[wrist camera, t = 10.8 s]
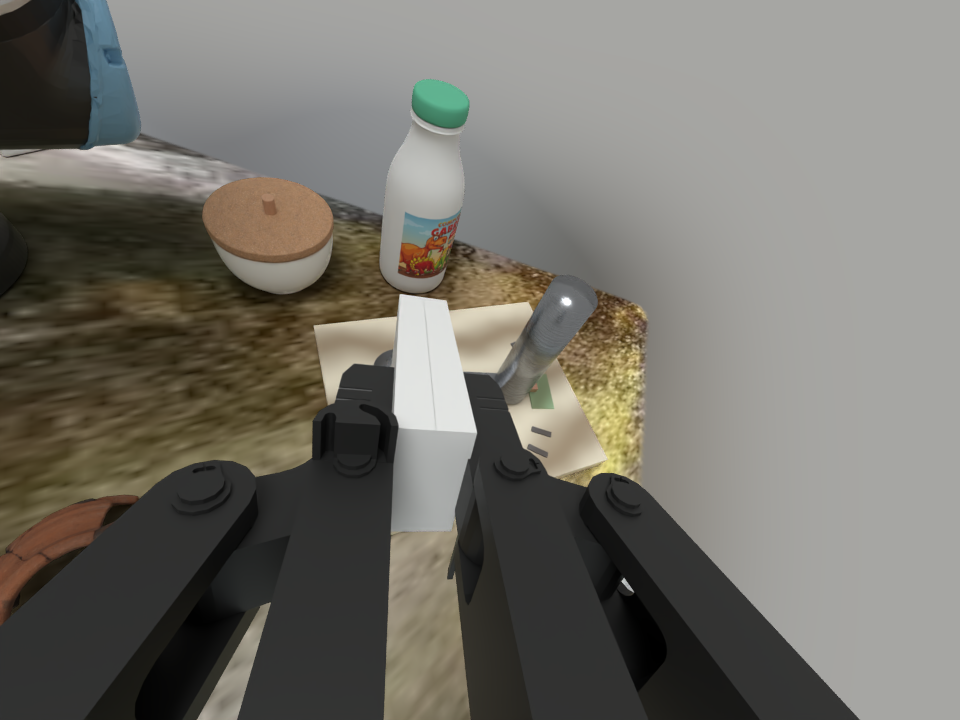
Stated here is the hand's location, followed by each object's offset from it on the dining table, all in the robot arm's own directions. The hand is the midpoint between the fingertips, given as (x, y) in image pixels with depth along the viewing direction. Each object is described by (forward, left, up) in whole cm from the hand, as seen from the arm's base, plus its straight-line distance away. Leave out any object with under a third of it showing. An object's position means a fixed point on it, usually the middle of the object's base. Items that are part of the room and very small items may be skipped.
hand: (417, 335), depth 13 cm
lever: (-8, +9, -21) cm, 24 cm away
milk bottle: (-25, +9, -24) cm, 36 cm away
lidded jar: (-26, -5, -24) cm, 36 cm away
